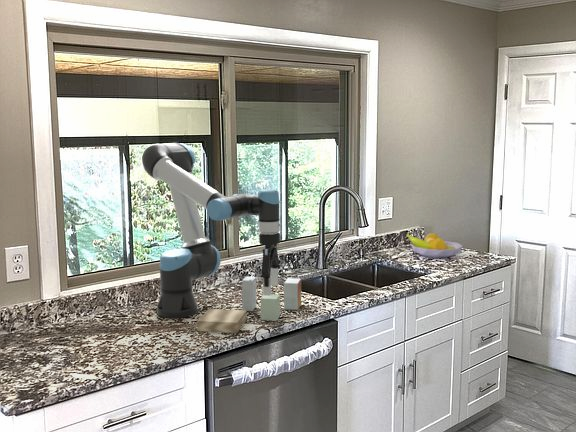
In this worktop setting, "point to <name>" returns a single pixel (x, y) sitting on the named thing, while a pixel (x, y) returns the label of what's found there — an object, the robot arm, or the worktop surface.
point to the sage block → (270, 307)
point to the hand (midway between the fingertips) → (271, 290)
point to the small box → (292, 294)
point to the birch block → (222, 320)
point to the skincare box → (249, 293)
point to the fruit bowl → (434, 246)
